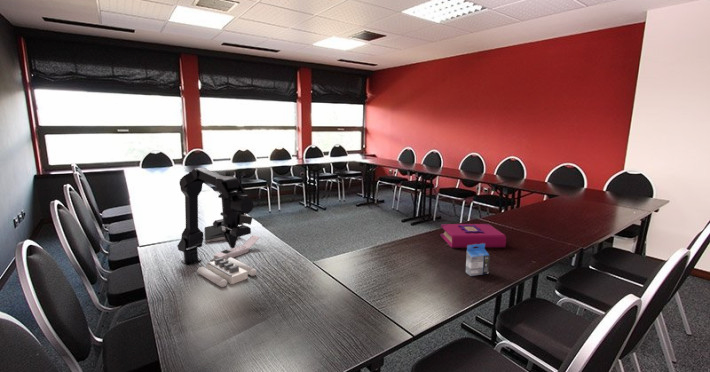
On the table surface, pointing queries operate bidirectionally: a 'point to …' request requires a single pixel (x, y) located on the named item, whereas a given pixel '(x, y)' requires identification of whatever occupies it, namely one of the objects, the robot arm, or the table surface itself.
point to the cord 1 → (212, 276)
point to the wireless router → (214, 233)
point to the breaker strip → (227, 270)
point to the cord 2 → (243, 266)
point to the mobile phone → (237, 249)
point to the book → (472, 235)
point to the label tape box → (477, 260)
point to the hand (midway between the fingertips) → (232, 247)
